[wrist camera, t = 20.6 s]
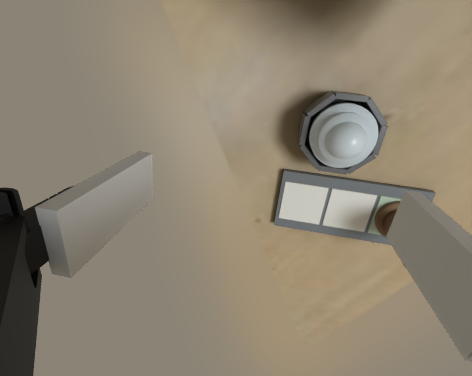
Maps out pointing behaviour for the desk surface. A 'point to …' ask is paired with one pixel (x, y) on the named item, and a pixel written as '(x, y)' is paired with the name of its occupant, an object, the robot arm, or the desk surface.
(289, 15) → the desk surface
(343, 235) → the game board
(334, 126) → the pop-up dome
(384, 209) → the walnut pawn
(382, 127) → the dome base
